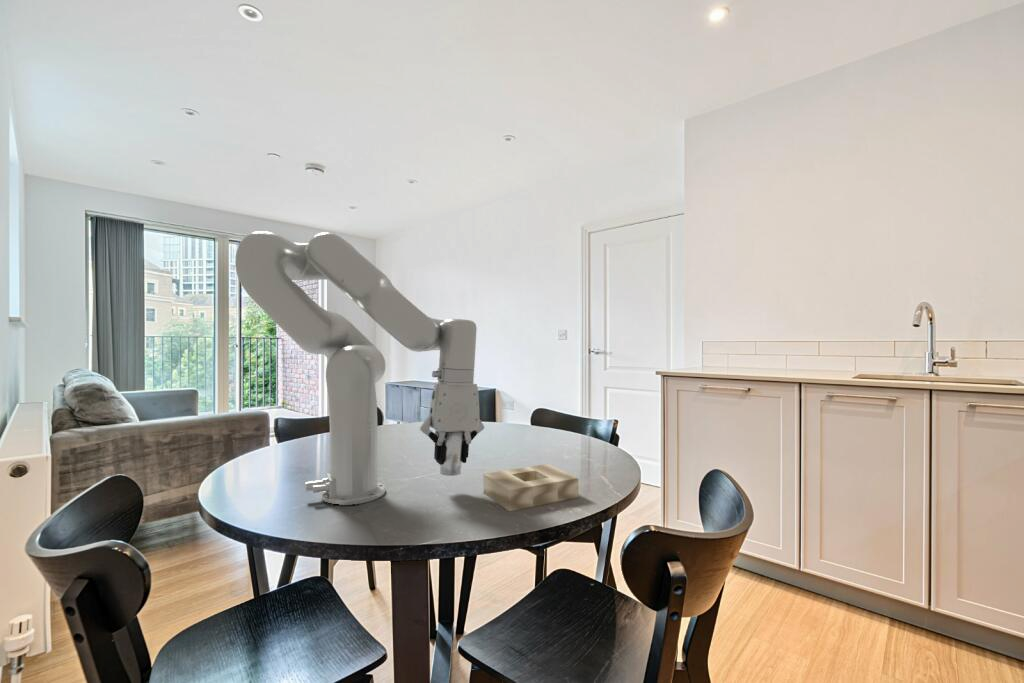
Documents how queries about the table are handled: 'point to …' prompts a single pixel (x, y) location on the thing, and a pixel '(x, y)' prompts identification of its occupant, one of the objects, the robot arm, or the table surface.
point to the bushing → (452, 453)
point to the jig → (530, 486)
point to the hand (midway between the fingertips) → (451, 461)
